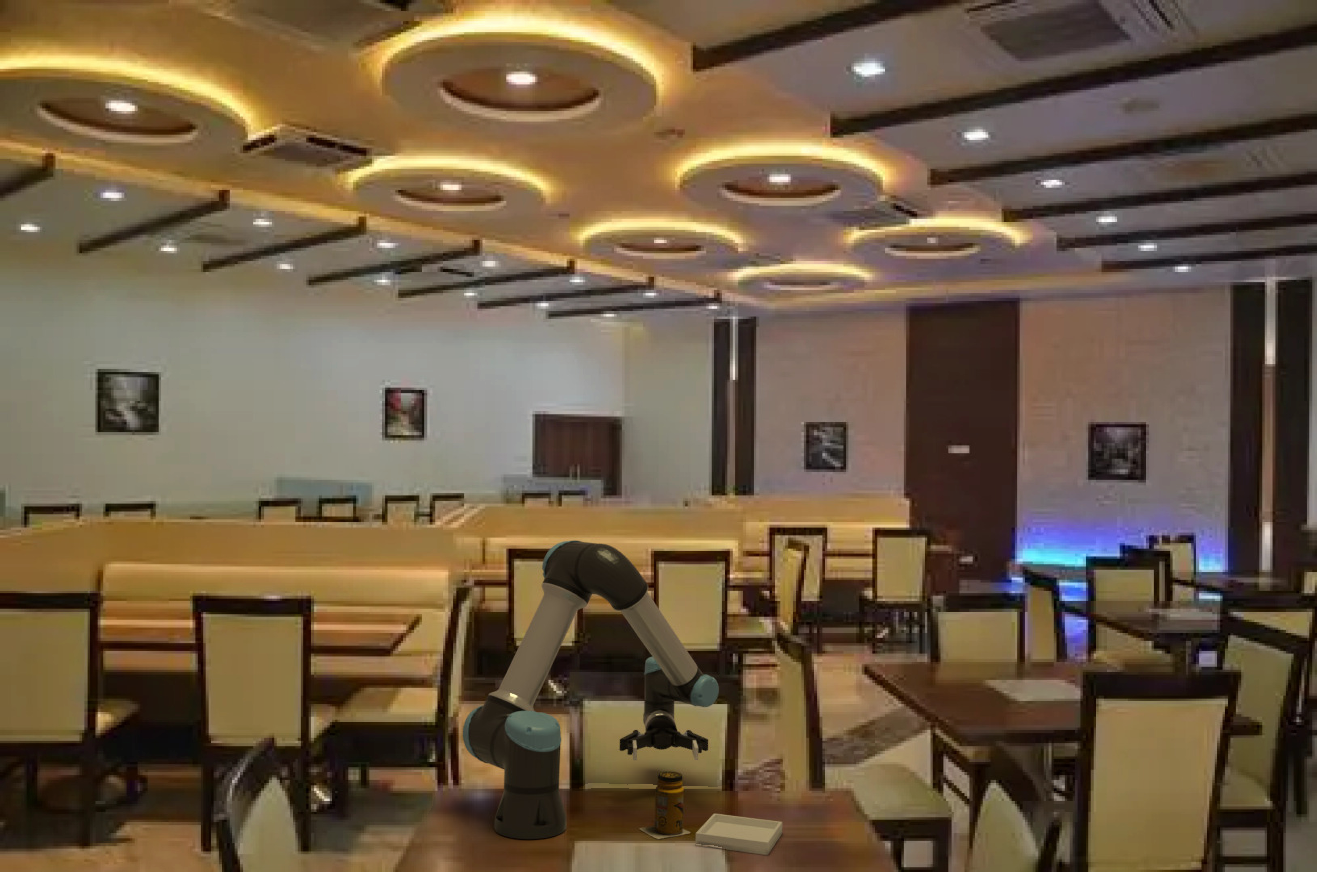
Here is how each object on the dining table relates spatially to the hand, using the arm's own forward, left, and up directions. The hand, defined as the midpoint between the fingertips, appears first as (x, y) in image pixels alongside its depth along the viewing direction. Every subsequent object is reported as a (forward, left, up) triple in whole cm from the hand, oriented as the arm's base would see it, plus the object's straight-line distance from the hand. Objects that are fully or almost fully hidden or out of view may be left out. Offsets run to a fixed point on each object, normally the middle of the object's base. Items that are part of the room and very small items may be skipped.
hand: (665, 753), depth 243 cm
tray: (+19, -9, -14) cm, 25 cm away
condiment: (+3, -10, -14) cm, 17 cm away
